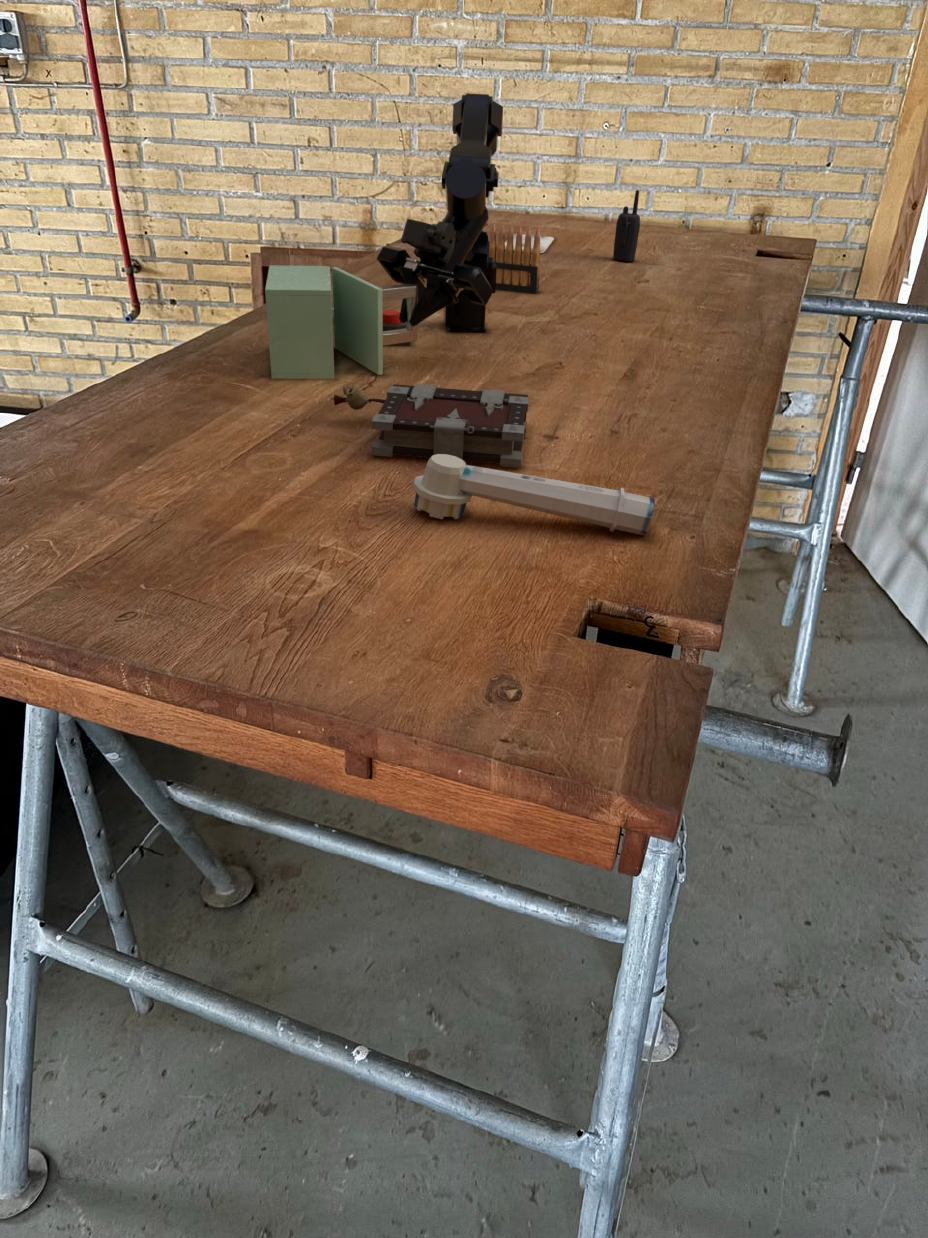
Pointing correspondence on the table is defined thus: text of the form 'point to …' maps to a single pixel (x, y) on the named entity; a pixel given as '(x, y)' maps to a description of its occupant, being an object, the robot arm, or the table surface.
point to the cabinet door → (368, 318)
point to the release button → (391, 317)
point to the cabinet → (300, 322)
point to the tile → (544, 242)
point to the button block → (395, 327)
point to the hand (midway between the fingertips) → (406, 322)
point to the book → (447, 422)
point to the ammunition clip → (516, 261)
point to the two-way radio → (627, 233)
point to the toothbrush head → (527, 495)
